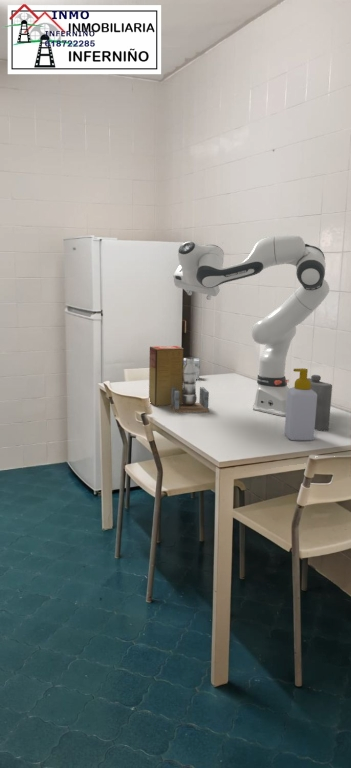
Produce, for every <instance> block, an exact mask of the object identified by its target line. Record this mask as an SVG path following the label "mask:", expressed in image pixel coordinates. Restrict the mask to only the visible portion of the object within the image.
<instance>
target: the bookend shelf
mask: <svg viewBox="0 0 351 768" xmlns="http://www.w3.org/2000/svg"><path fill="white" fill-rule="evenodd" d="M209 393H210V392H209V390H207V388H205V387H203V386H199V402H196V403H195V404H192V405H186V404H183V403H179V391H178V390H177V389H176V388H175V387H172V389H171V405H169V406H170V408H171V409H172V411H173V412H174V413H208V412H209V409H210V408H209V400H210V399H209V398H210V397H209V395H210V394H209Z"/></svg>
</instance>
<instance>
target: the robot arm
mask: <svg viewBox="0 0 351 768" xmlns="http://www.w3.org/2000/svg"><path fill="white" fill-rule="evenodd" d="M224 253H225V252H224V250H223V249H222V248H221V247H220V246H218V245H215V244H205V245H203V244H198V243H196V242H195V241H192V240H189V241H188V240H187V241H185V242H183V243H182V244H180V246H179V248H178V251H177V256H178V261H179V265H178V267H177V268H176V270H175V271H174V273H173V275H172V276H173V282H174V286H175V287H176V288H177V289H178V288H179V289H183V290H184V291H185V292H186V295H188V296H192V294H193V292H195V293H200V294H203V295H206V300H208V301H210V300H212V297H217V296H218V295H219V293H220V285H223V284H226V283H229V282H233V281H237V280H241V279H245V278H249V277H252V276H255V275H257V274H260V273H261V272H262V271H263V270H265V269H268V268H270V267H273V266H279V265H285V264H286V265H293V266H295V269H296V278H297V281H298V282H299V283H300V286H299V287H298V288H297V289H296V290H295V291H294V292H293V293H292V294H291V295H290V296H289V297H288V298H286V299H285V301H284V302H283V303H282V304H280V305H279V306H278V307H276V308H275V309H274V310H272V311H271V312H270V313H268V314H267V315H266V316H265V317H263V318H262V319H260V320H258V321H257V322H255V323H254V324H253V326H252V329H251V337H252V339H253V341H254V342H256V343H257V344H259V345H263V346H265V347H264V349H263V351H262V353H261V355H260V356H259V360H258V362H259V363H258V367H259V368H258V374H257V377H256V380H257V381H256V384H257V388H256V393H255V399H254V402H253V405H252V407H253V408H252V410H254V411H257V412H263V413H267V414H273V415H277V416H281V417H286V404H287V391H288V389H290V387H289V386H288V382H290V379H286V376H285V373H286V372H285V370H286V361H287V356H288V351H289V348H290V345H291V342H292V340H293V338H294V337H295V336H296V333H297V326H298V325H300V324H302V323H303V322H304V321H305V320H306V319H307V318H308V317H309V316H310V315H312V313H313V312H314V311H315V310H316V309H317V308H318V307H319V306H320V305H321V304H322V302H324V300H325V299H326V297H327V296H328V295H329V292H330V286H329V283H328V282H327V280H326V279H325V276H326V261H325V260H326V257H325V255H324V251H323V250H322V249H320V248H319V247H318V246H314V245H310V244H308V243H305V240H304V239H303V238H302V237H301V236H300V235H289V234H287V235H275V236H274V235H273V236H268V237H265V238H262V239H261V238H260V240H258V241H257V242H256V243H255V244H254V245H253V247H252V249H251V252H249V255H247V257H246V258H245V259H244V260H243V261H242V262H239V263H236V264H232V265H228V266H224V257H225V255H224ZM223 266H224V267H223Z"/></svg>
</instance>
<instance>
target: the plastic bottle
mask: <svg viewBox="0 0 351 768" xmlns="http://www.w3.org/2000/svg"><path fill="white" fill-rule="evenodd" d="M185 358H186V361H185V363H186V365H185V366H184V368H183V370H182V374H183V394H182V403H183V404H186V405H192V404H195V403H197V398H198V397H197V391H196V382H197V380H196V376H197V369H196V367H195V365H194V359H195V358H194V357H185Z"/></svg>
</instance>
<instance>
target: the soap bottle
mask: <svg viewBox="0 0 351 768" xmlns="http://www.w3.org/2000/svg"><path fill="white" fill-rule="evenodd" d="M293 372H294V373H295V372H297V373H298V372H299V378H297V379H296V380H295V381H294V386H292V387H289V389H288V391H287V404H286V416H285V421H284V434H285V436H286V437H287V438H288V439H289V440H290V441H305V442H306V441H308V442H309V441H314V438H315V430H316V429H315V417H316V404H317V394H316V392H314V391H313V390H312V389H311V382H310V380H308V379H307V378H308V368H293Z"/></svg>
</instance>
